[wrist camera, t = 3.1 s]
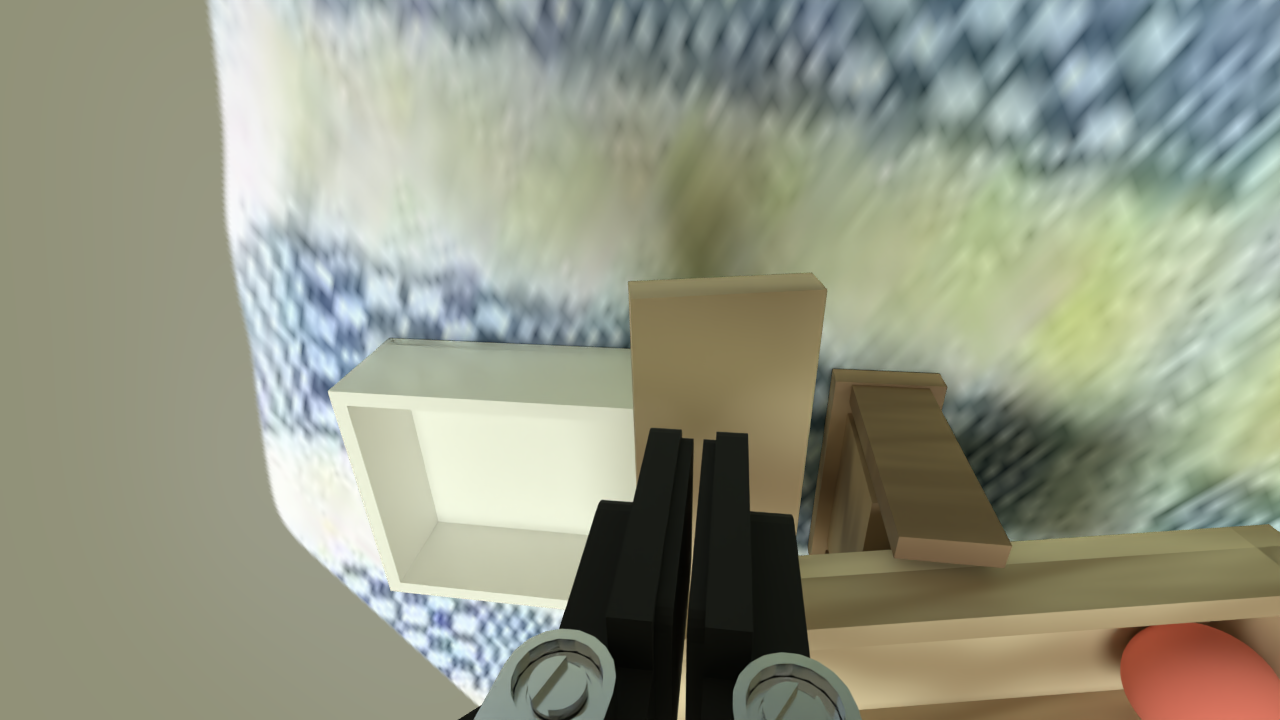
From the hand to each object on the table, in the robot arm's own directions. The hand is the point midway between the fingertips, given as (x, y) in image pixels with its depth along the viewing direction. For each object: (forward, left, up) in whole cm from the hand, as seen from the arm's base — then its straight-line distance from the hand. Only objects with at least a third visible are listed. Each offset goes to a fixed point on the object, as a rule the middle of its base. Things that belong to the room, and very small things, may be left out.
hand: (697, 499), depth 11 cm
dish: (+9, -8, -14) cm, 18 cm away
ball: (+9, +14, -5) cm, 17 cm away
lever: (+5, +6, -7) cm, 11 cm away
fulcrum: (+9, +7, -14) cm, 18 cm away
